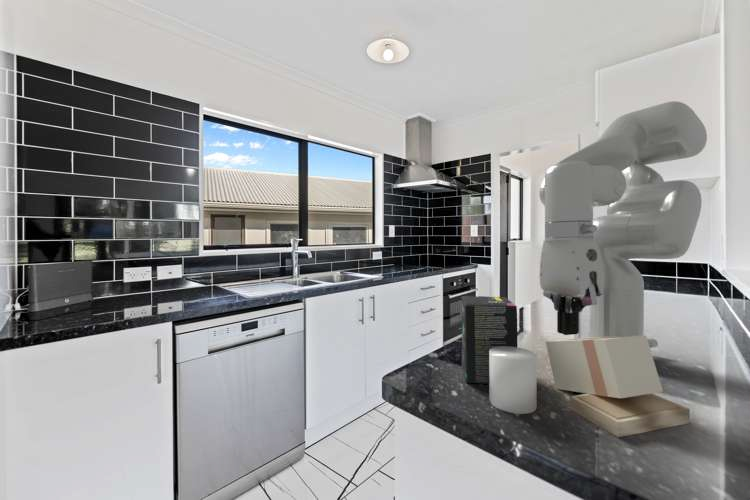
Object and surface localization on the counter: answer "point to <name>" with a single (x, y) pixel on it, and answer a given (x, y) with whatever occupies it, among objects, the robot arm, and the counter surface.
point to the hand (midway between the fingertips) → (567, 333)
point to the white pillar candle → (513, 379)
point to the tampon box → (485, 333)
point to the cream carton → (604, 366)
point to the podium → (629, 413)
